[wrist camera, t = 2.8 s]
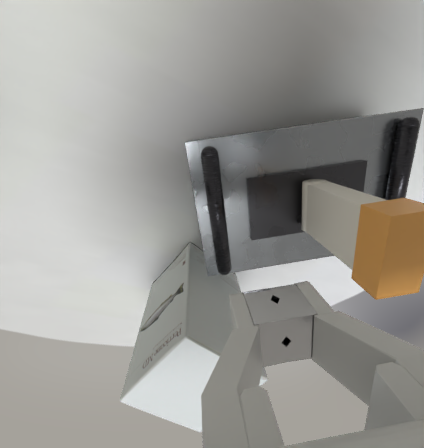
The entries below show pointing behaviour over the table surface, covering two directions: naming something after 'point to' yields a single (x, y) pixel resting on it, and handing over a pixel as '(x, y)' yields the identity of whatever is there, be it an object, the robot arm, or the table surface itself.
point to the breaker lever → (368, 235)
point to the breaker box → (290, 183)
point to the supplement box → (180, 340)
